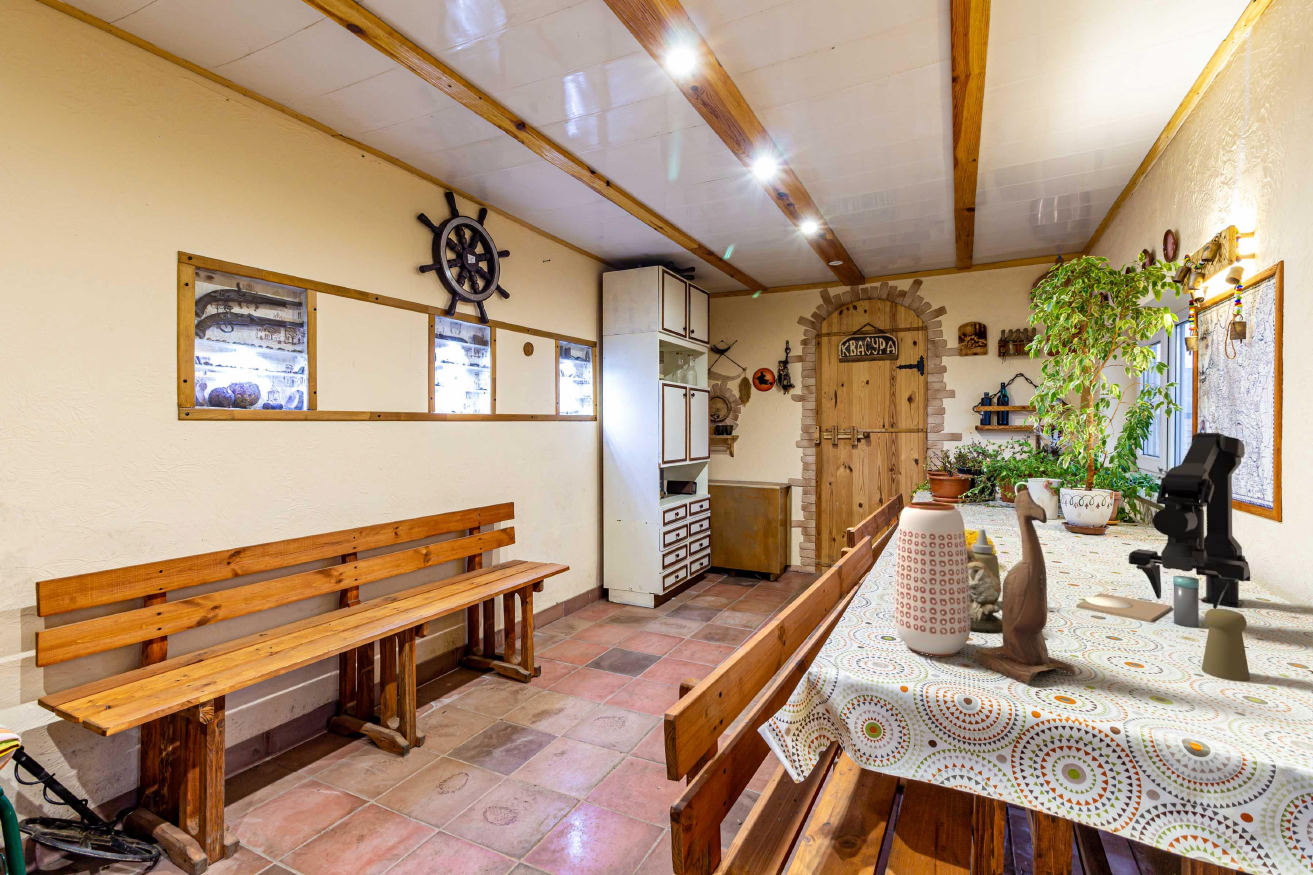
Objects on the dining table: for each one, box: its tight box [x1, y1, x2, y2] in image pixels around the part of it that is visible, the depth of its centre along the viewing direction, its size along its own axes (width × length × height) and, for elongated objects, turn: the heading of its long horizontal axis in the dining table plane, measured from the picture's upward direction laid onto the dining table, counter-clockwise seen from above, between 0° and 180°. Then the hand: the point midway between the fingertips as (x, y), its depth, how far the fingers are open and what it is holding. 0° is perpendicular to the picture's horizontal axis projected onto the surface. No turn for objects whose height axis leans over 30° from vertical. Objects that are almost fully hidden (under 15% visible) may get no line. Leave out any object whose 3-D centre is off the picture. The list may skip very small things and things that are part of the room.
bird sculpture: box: [972, 489, 1077, 686], centre depth 104 cm, size 11×12×32 cm
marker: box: [1172, 575, 1200, 628], centre depth 127 cm, size 4×4×10 cm
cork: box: [1201, 608, 1251, 682], centre depth 102 cm, size 6×6×11 cm
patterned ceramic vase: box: [894, 501, 971, 658], centre depth 115 cm, size 13×13×28 cm
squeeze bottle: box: [971, 529, 1002, 606], centre depth 144 cm, size 8×8×18 cm
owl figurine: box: [967, 546, 1003, 634], centre depth 132 cm, size 18×12×17 cm, turn 36°
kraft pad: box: [1075, 592, 1173, 623], centre depth 140 cm, size 16×14×1 cm
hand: (1186, 603), depth 128 cm, fingers open, 9 cm apart
